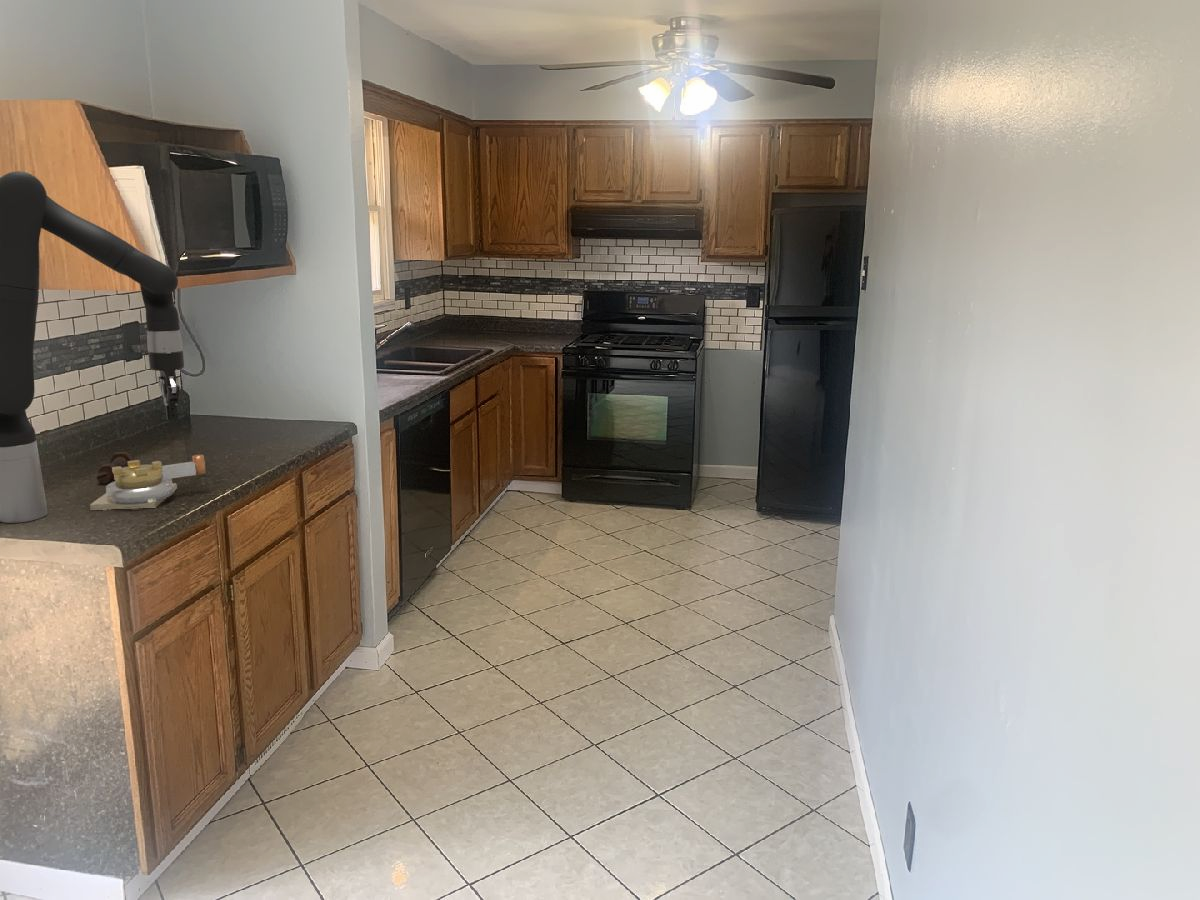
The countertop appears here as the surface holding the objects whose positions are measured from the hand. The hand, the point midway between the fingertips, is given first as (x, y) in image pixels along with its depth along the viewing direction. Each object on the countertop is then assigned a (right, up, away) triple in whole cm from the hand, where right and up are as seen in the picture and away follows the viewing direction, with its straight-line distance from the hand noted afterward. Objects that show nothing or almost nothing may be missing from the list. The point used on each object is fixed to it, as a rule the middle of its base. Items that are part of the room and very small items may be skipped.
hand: (172, 420), depth 219 cm
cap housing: (-6, -19, -4) cm, 21 cm away
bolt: (-22, -15, +15) cm, 31 cm away
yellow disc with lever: (-1, -14, -4) cm, 15 cm away
